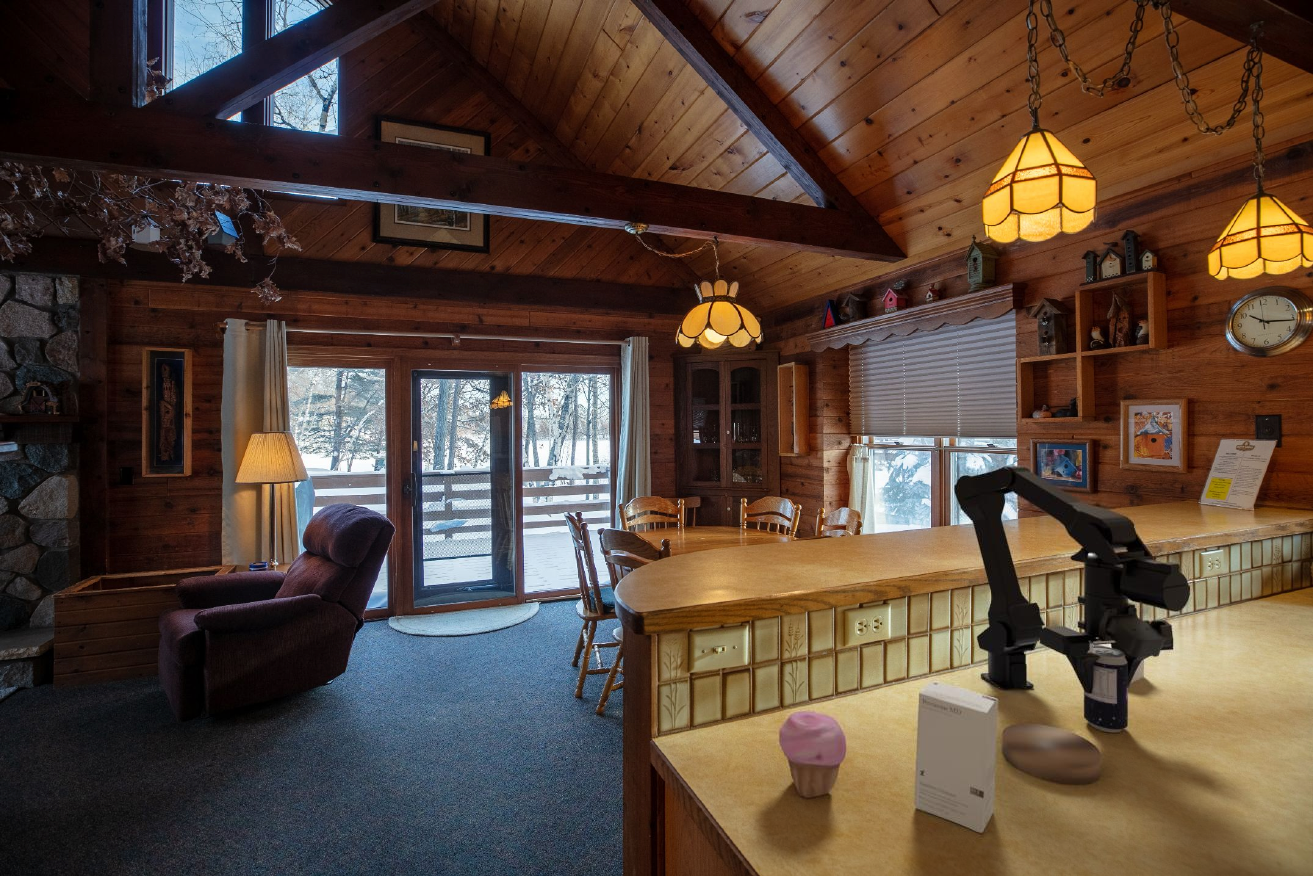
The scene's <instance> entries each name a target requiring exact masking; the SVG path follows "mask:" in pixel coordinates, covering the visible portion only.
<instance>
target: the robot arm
mask: <svg viewBox="0 0 1313 876" xmlns="http://www.w3.org/2000/svg"><path fill="white" fill-rule="evenodd" d="M953 489H954V495H955V497H956V500H957V503H958V505H959V508H960V510H961V511H962V512H963V513H964V514H965V516H967V517H968V519H969V520H970V521H971V522H972V524H973V528H974V532H975V535H976V539H977V543H978V544H977V545H978V548H979V551H980V555H981V559H982V562H983V566H984V570H985V575H986V578H987V581H988V582H987V583H988V586H989V590H990V594H991V600H990V603H989V607H988V611H987V619H988V627H987V628H986V629H984V630H983V631H981V632H980V633H979V634H978V635H977V636H976V640H977V644H978V647H979V649H981V650H982V651H985V652H987V672H983V673H980V677H981V678H983V679H984V680H986V681H987V682H989V683H991V684H992V685H994V686H996V687H997V688H998V689H1001V690H1005V691H1006V690H1016V689H1017V690H1019V689H1032V688H1033V689H1034V688H1035V685H1034V684H1033V683H1032V682H1030V681H1028V678H1027V677H1028V676H1027V675H1028V673H1027V672H1028V668H1027V667H1028V665H1027V654H1025V652H1028V651H1035V650H1036V646H1037V644H1038V642H1039V644H1040V645H1043V646H1045V647H1047V648H1049V649H1050V650H1053V651H1055V652H1057V653H1059V654H1061V655H1063V656H1065V657H1066V658H1067V660H1068V662H1069V664H1070V665H1071V667H1072V669H1073V671H1074V673H1075V675H1076V677H1077V679H1078V681H1079V683H1080V685H1081V687H1082V689H1083V692H1084V691H1085V692H1086V693H1088V694H1091V693H1092V689H1093V671H1094V663H1095V662H1096V661H1097V660H1098V659H1099V658H1100V656H1098V655H1096V654H1094V653H1093V646H1094V645H1099V644H1111V648H1113V649H1116V650H1119V651H1121V652H1123V653H1124V654H1125V659H1126V660H1127V662H1128V688H1129V686H1130V685H1131V684H1130V683H1131V681H1132V678H1133V676H1134V674H1135V672H1136V670H1137V668H1138V666H1139V665H1140V663H1141V661H1142V660H1144V661H1145V659H1147V658H1150V657H1154V658H1155V657H1157V658H1158V657H1159V655H1160V653H1161V651H1174V636H1173V635H1174V634H1173V625H1172V624H1170V623H1169V622H1168V621H1166V620H1164V619H1159V620H1158V619H1157V620H1152V621H1150V620H1148V619H1147V620H1142V619H1140V618H1139V617H1138V611H1137V609H1138V608H1137V607H1136V604H1133V603H1131V602H1135V603H1138V604H1142V605H1147V606H1151V607H1154V608H1159V609H1162V610H1166V611H1171V612H1175V613H1177V612H1180V611H1182V610H1183V609H1184V608H1185V607H1186V606H1187V604H1188V602H1189V599H1190V596H1191V585H1189V583H1188V580H1187V577H1186V576H1185V574H1183V573H1182V572H1181V569H1180V568H1181V565H1180V564H1179V563H1176V562H1171V561H1166V562H1164V561H1158V560H1154V559H1155V558H1154V556H1153V554H1152V553H1151V551H1150V550H1149V549H1148V547H1147V545H1146V544H1145V543H1144V541H1143V540H1142V539H1141V537H1140V536H1139V534H1138V533H1137V531H1136V528H1135V523H1134V522H1133V520H1131V519H1130V518H1129V517H1127V516H1125V515H1123V514H1121V513H1118V512H1115V511H1112V510H1110V509H1107V508H1104V507H1100V506H1096V505H1093V504H1089V503H1085V502H1084V501H1081V500H1079V499H1078V498H1077V497H1075V496H1073V495H1072V494H1071V495H1070V493H1068V492H1066V491H1064V490H1063V489H1061V488H1059V487H1058V486H1057V485H1054V484H1052V483H1051V482H1049V481H1047V480H1045V479H1044V478H1042V477H1040V476H1038V475H1036V474H1035V473H1034V472H1032V471H1031V470H1030V469H1029V468H1028V467H1025V466H1023V465H1014V466H1013V465H1011V466H1007V465H1006V466H1002V467H1001V468H998V469H995V470H992V471H988V472H984V473H980V474H966V475H965V474H964V475H962V476H960V477H959V478H958V479H957V481H956V483H955V484H954V487H953ZM1010 493H1014V494H1015V495H1017V496H1019V497H1020V498H1022V499H1024V500H1025V501H1026V502H1028V503H1030V504H1031V505H1032V506H1034V507H1036V508H1038V509H1039V510H1041V511H1042V512H1044V513H1045V514H1047V515H1048V516H1050V517H1052V518H1054V519H1055V520H1056V521H1058V522H1059V523H1060V524H1061V525H1062V526H1064V528H1065V530H1066V532H1067V534H1068V536H1069V537H1071V538H1072V540H1074V541H1075V542H1076V543H1077V544H1078V545H1079V546H1080V547H1081V548H1080V549H1079V550H1078V551H1077V552H1076V553H1074V554H1072V555H1071V556H1070V560H1071V561H1073V562H1079V563H1082V564H1083V595H1078V596H1077V603H1079V604H1081V605H1083V620H1078V621H1077V628H1078V629H1081V630H1084V631H1083V632H1079V631H1077V630H1075V629H1072V628H1069V627H1067V626H1065V625H1061V626H1059V625H1058V626H1046V624H1045V623H1044V620H1043V618H1042V616H1041V610H1040V607H1039V604H1038V602H1030V601H1029V600H1028V599H1027V598H1026V597H1025V596H1024V594H1023V593H1022V590H1021V586H1020V582H1019V580H1018V579H1019V578H1018V575H1017V572H1016V569H1015V565H1014V564H1015V563H1014V561H1013V557H1012V554H1011V550H1010V546H1009V542H1008V538H1007V534H1006V531H1005V527H1004V524H1003V520H1002V515H1003V512H1004V509H1005V507H1006V506H1005V505H1006V497H1005V495H1007V494H1010ZM1125 550H1126V551H1125ZM1129 600H1130V601H1131V602H1129Z"/></svg>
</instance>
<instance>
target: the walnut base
mask: <svg viewBox="0 0 1313 876" xmlns="http://www.w3.org/2000/svg"><path fill="white" fill-rule="evenodd" d="M1001 738H1002V739H1001V745H1002V746H1001V747H1002V748H1001V750H1002V755H1003V757H1004V758H1005V760H1006V761H1007V762H1008V763H1010V764H1011V765H1012V766H1013V767H1015V768H1016V769H1017V770H1020V771H1021V772H1024V773H1025V774H1028V775H1030V776H1032V777H1035V778H1037V779H1040V780H1045V781H1048V782H1052V783H1057V784H1062V785H1072V786H1073V785H1074V786H1075V785H1076V786H1078V785H1087V784H1093V783H1096V782H1098V780H1100V779H1101V777H1102V754H1101V751H1100V749H1099V748H1098V747H1097V746H1096V745H1094V743H1092V742H1091V741H1090V740H1089V739H1087V738H1084V737H1083V736H1080V735H1078V734H1076V733H1073V732H1071V731H1069V730H1066V729H1061V728H1058V727H1055V726H1049V725H1046V724H1038V723H1036V724H1035V723H1017V724H1012V725H1009V726H1007V727H1006V728H1004V729H1003V730H1002V733H1001Z"/></svg>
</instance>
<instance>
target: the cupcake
mask: <svg viewBox="0 0 1313 876" xmlns="http://www.w3.org/2000/svg"><path fill="white" fill-rule="evenodd" d="M778 733H779V734H778V735H779V736H778V742H779V745H780V748H781V750H782V752H783V755H784V756H785V757H786V759H787V763H788V766H789V770H790V776H791V778H792V780H793V784H794V785H795V788H796V790H797V792H798V794H799V795H800V796H801V797H803V798H806V799H811V798H816V797H821V796H825V795H827V794H829V793H830V792H831V791H832V790H833V788H834V787H835V785H836V782H837V779H838V775H839V771H840V768H841V767H840V765H841V764H842V763H844V762H843V761H844V760H845V758H846V754H847V741H846V735H845V732H844V731H843V729H842V728H841V725H840V724H839V722H838V720H836V719H835V718H834V717H833V716H831V715H829V714H826V713H820V712H815V711H811V710H801V711H796V712H793V713H791V714H790V715H789V716H788V718H786V721H784V722H783V723H782V725H781V726H780V728H779V731H778Z"/></svg>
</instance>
